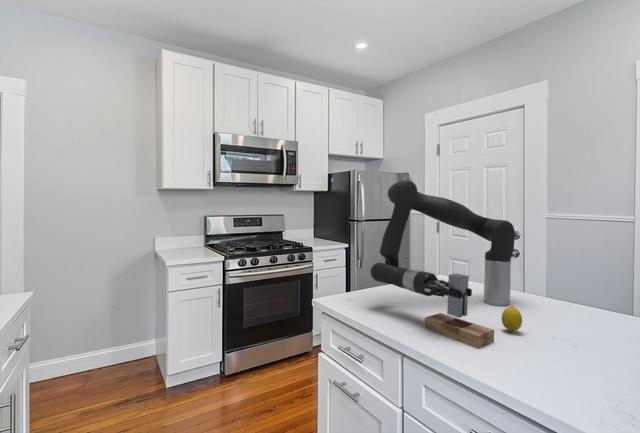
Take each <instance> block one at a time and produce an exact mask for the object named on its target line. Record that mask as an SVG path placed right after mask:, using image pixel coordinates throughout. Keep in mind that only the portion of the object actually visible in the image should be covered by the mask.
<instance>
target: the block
mask: <svg viewBox="0 0 640 433" xmlns="http://www.w3.org/2000/svg"><path fill="white" fill-rule="evenodd" d="M447 282H448V287H449V288H450V289H451V288H452V289H456V290H460V291H462V292H463V298H461V299H459V298H455V297H452V296H449V297H447V312H446V313H447V314H446V315H449V316H452V317H455V318H458V319H461V318H462V317H465V316H468V303H469V302H468V300H469V299H468V298H469V296H468V288H469V275H465V274H462V273H461V274H460V273H457V272H456V273H452V274H448V281H447Z"/></svg>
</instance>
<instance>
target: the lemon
mask: <svg viewBox="0 0 640 433" xmlns="http://www.w3.org/2000/svg"><path fill="white" fill-rule="evenodd" d="M501 322H502V323H501V324H502V325H503V327H504V328H505V329H507V330H508V331H509V332H510V333H513V332H515V331H517V330H519V329H520V328H521V327H522V323H523V317H522V314H521V311H520V310H518V309H517V308H515V307H514V306H509V307H506V308H505V309H503V312H502V314H501Z"/></svg>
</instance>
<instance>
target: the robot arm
mask: <svg viewBox="0 0 640 433" xmlns="http://www.w3.org/2000/svg"><path fill="white" fill-rule="evenodd" d="M387 197H388V199H389V201H390V202H391V203H392V204H393V211H392V214H391V217H390V220H389V221H388V224H387V226H386V228H385V231H384V232H383V235H382V241H381V246H380V249H379V254H380V256H382V257H384V262H376V263H375V264H373V265H372V266H371V268H370V276H371V278H372V280H374V281H376V282H379V283H384V284H389V285H392V286H395V287H399V288H401V289H405V290H408V291H410V292H412V293H415V294H420V295H423V296H425V297H431V296H435V297H442V298H443V297H444V298H445V297H447V298H448V297H449V296H452V297H455V298H459V299H461V298H463V292H462V291H460V290H456V289H452V288H451V289H450V288H449V287H448V281H446V280H444V279H438V277H437V276H436V274H435V273H432V272H428V271H423V270H419V269H411V268H405V267H400V265H399V262H400V259H399V253H400V250H401V246H402V241H403V237H404V232H405V230H406V226H407V223H408V219H409V217H410V214H411V211H412V210H413V211H417V212H419V213H420V214H423V215H426V216H427V217H429V218H432V219H433V220H436V221H439V222H441V223H443V224H446V225H449V226H452V227H455V228H457V229H461V230H464V231H468V232H471V233H473V234H475V235H477V236H479V237H481V238H482V239H484V240H486V241H488V242H491V243H490V249H488V251H486V252H485V253H484V279H483V280H484V281H483V282H484V284H483V302H484V303H487V304H488V305H492V306H500V307H501V306H504V307H505V306H509V305H510V303H511V283H512V282H511V276H512V275H511V274H512V273H511V272H512V271H511V270H512V269H511V267H512V265H511V264H512V263H511V262H512V256H513V254H514V249H515V239H516V238H515V236H516V233H515V230H516V229H515V227H514V225H513V223H512V222H510V221H508V220H505V219H493V218H489V217H485V216H481V215H479V214H476V213H475V212H474V211H471V209H470V208H468V207H466V206H465V205H464V204H462V203H459V202H457V201H454V200H452V199H448V198H446V197H441V196H440V197H439V196H435V195H430V194H429V195H428V194H425V193H422V192H419V191H418V187H417V185H416V183H415V182H414V181H412V180H410V179H402V180H399V181H397V182H395V183H393V184H392V185H390V187H389V188H388V191H387ZM472 296H473V289H472V288H469V287H468V297H472Z"/></svg>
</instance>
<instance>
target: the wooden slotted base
mask: <svg viewBox="0 0 640 433" xmlns="http://www.w3.org/2000/svg"><path fill="white" fill-rule="evenodd" d="M424 329H426V330H428V331H430V332H434V333H437V334H438V335H441V336H444V337H446V338H450V339H452V340H454V341H457V342H460V343H463V344H466V345H468V346H471V347H473V348H476V349H481V348H483V347H485V346H488V345H490V344H492V343H494V342H495V329H493V328H489V327H487V326H484V325H481V324H476V323H474V322H470V321H467V320H465V319H461V318H458V317H455V316H452V315H449V314H445V313H442V312H438V313H436V314H432V315H429V316H425V317H424Z"/></svg>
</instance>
